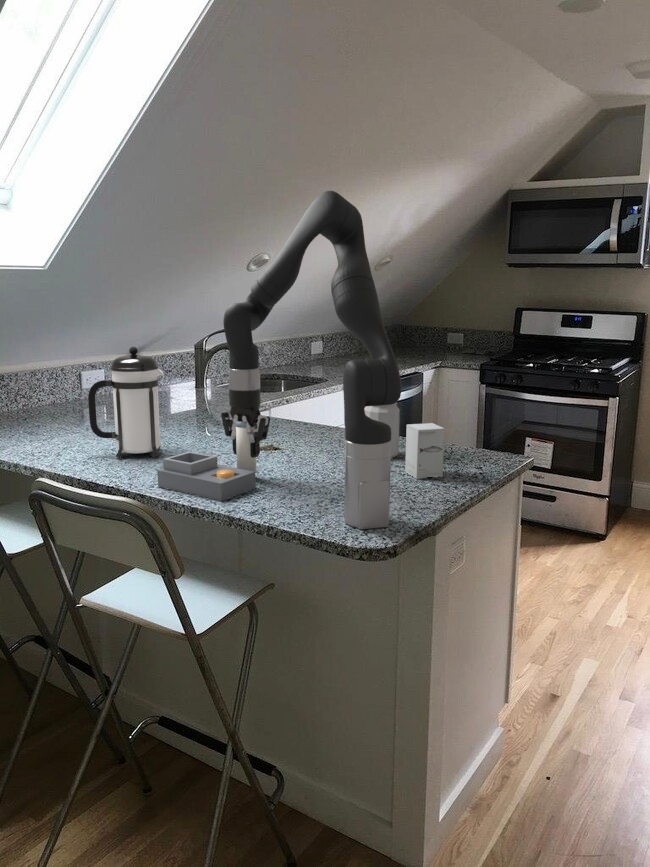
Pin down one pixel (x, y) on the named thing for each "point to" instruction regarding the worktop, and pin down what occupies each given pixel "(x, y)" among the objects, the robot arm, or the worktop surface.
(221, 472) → the button
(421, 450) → the supplement box
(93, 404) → the coffee press
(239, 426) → the cartridge
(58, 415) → the worktop surface
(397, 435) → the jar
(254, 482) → the housing
